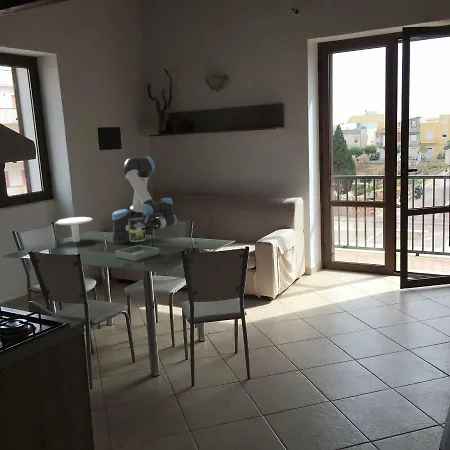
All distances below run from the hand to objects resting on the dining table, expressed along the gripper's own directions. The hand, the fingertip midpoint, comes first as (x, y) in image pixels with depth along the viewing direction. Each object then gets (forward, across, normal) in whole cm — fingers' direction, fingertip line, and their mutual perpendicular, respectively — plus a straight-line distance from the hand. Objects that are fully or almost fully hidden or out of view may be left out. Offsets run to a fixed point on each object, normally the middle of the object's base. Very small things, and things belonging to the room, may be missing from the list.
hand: (131, 229), depth 308 cm
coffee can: (-4, 0, -8) cm, 9 cm away
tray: (-3, 0, -18) cm, 18 cm away
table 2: (-9, +79, -18) cm, 82 cm away
